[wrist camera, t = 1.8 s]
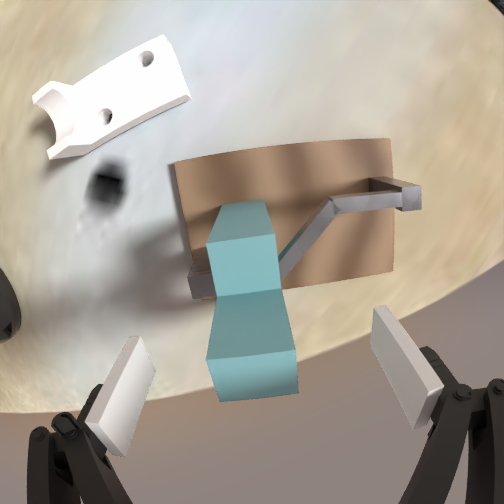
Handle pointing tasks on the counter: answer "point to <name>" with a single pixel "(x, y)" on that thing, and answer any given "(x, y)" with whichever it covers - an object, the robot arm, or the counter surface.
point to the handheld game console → (499, 4)
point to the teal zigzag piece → (248, 308)
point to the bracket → (113, 98)
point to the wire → (319, 226)
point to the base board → (298, 202)
